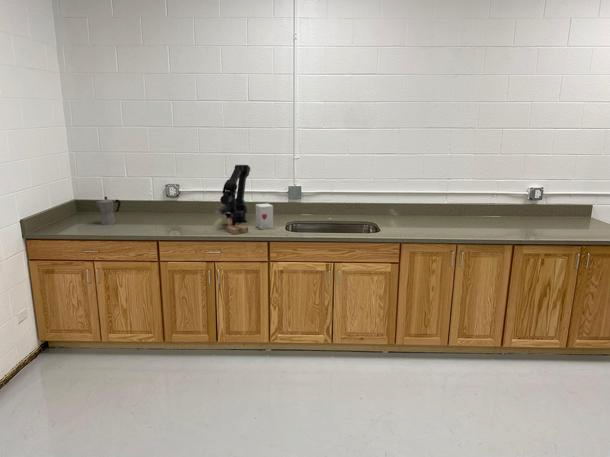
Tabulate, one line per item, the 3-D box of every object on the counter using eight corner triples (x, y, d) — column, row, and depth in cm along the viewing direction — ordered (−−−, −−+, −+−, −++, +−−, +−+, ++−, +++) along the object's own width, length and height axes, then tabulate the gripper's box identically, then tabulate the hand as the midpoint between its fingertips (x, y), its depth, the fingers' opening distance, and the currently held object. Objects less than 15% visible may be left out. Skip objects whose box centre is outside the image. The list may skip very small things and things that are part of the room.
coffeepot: (97, 225, 300) (94, 198, 296) (97, 222, 309) (94, 196, 304) (122, 223, 306) (120, 197, 301) (122, 220, 314) (119, 194, 310)
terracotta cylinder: (233, 225, 305) (233, 216, 303) (236, 227, 301) (236, 218, 299) (226, 226, 302) (226, 217, 300) (230, 228, 298) (229, 219, 296)
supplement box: (260, 229, 295) (260, 206, 291) (255, 226, 303) (255, 204, 299) (273, 228, 299) (273, 205, 295) (268, 225, 307) (267, 203, 303)
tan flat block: (240, 228, 296) (240, 224, 295) (248, 232, 288) (248, 227, 288) (226, 231, 290) (226, 226, 290) (233, 234, 283) (233, 229, 282)
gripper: (213, 200, 300) (214, 223, 304) (226, 205, 285) (227, 229, 289) (228, 198, 306) (229, 221, 310) (242, 203, 292) (242, 227, 296)
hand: (231, 225), depth 301 cm, fingers closed on terracotta cylinder, 5 cm apart
